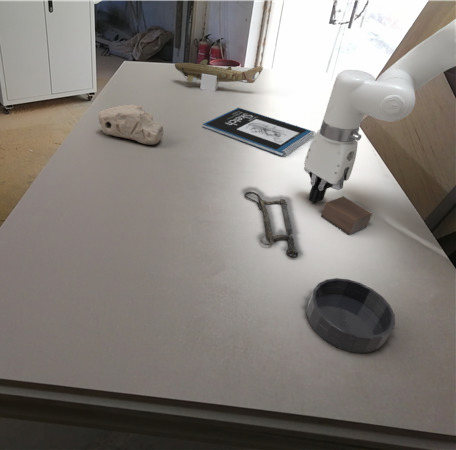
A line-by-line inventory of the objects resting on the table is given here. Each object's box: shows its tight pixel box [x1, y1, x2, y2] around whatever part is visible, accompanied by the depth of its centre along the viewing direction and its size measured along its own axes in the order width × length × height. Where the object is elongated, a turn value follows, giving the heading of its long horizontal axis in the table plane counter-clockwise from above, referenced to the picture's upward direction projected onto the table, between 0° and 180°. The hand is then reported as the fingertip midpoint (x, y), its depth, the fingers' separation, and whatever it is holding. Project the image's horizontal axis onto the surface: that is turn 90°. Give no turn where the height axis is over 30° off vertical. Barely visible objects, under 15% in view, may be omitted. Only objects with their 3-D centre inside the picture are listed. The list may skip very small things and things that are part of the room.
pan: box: [306, 277, 396, 354], centre depth 69 cm, size 13×13×4 cm
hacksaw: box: [244, 191, 299, 258], centre depth 92 cm, size 24×10×2 cm, turn 172°
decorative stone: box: [98, 104, 165, 146], centre depth 122 cm, size 20×8×10 cm, turn 67°
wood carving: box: [174, 59, 264, 92], centre depth 161 cm, size 9×35×11 cm, turn 70°
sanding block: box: [320, 195, 373, 236], centre depth 93 cm, size 6×8×4 cm
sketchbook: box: [202, 107, 317, 158], centre depth 132 cm, size 22×30×2 cm
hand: (315, 200), depth 99 cm, fingers closed
